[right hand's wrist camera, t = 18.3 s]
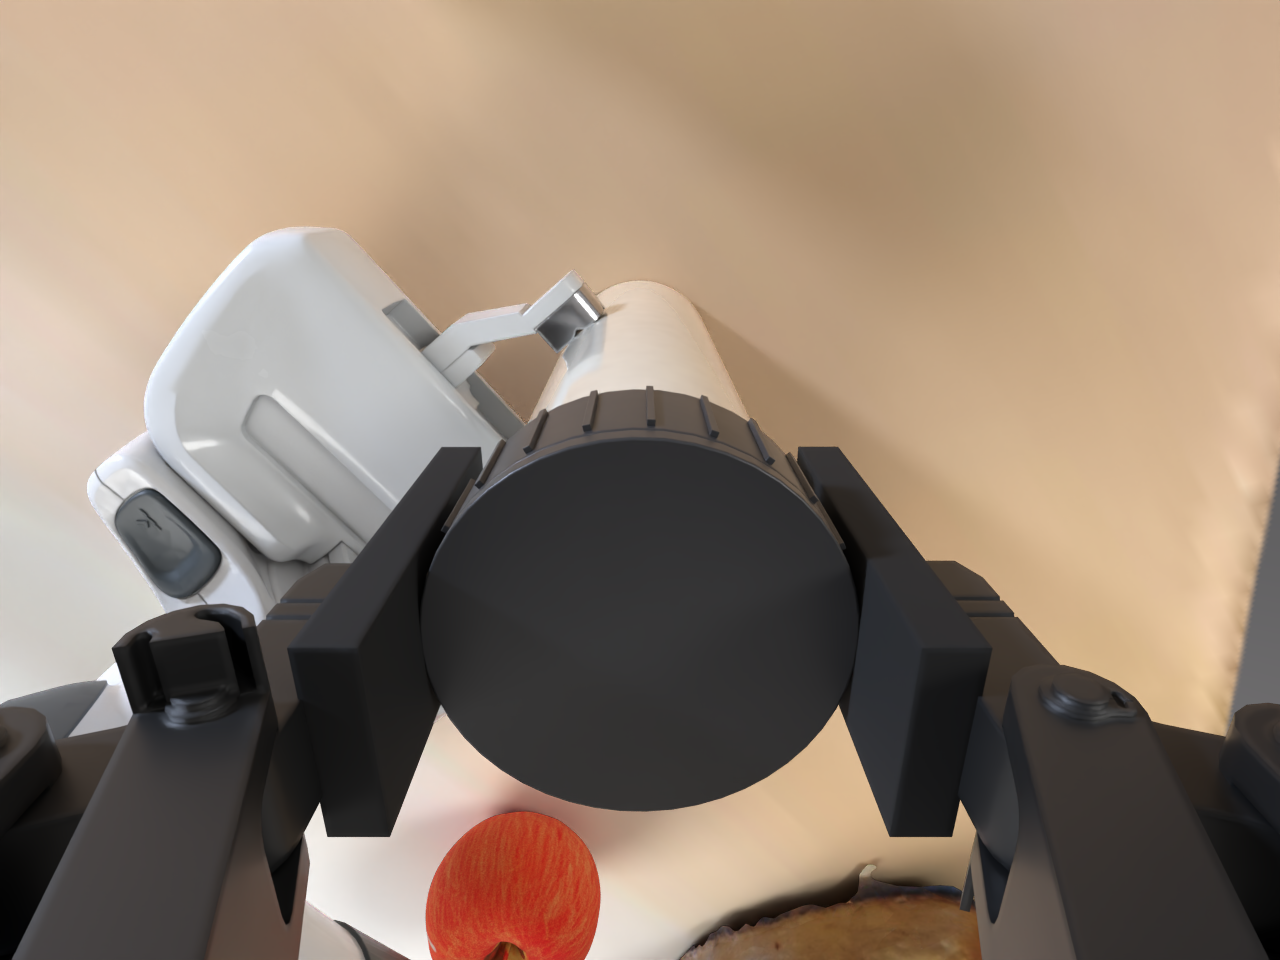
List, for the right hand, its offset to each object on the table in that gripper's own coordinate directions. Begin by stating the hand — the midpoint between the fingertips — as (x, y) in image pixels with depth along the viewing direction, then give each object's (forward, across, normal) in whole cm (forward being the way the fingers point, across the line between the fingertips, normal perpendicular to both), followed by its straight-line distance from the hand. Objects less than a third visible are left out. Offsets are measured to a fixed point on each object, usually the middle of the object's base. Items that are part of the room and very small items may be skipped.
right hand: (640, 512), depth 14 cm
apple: (+15, +6, +26) cm, 30 cm away
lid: (-4, 0, 0) cm, 4 cm away
